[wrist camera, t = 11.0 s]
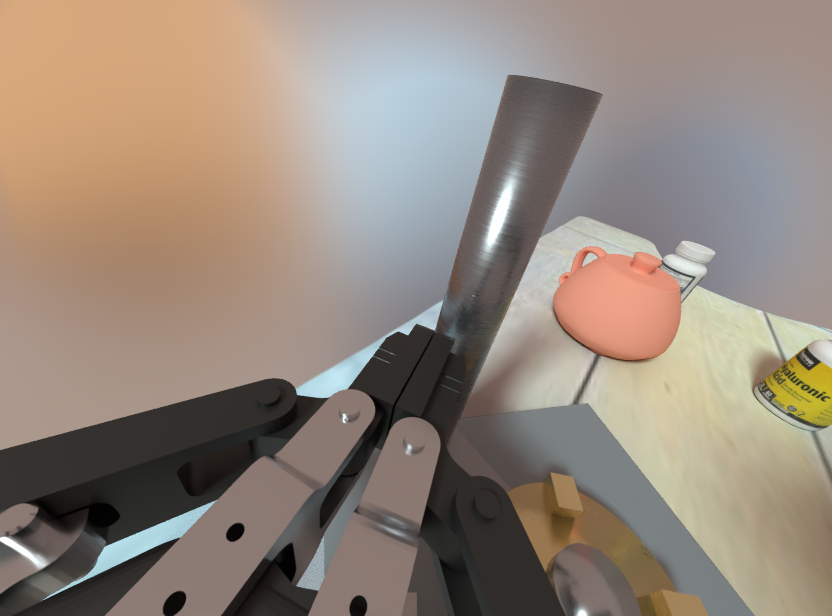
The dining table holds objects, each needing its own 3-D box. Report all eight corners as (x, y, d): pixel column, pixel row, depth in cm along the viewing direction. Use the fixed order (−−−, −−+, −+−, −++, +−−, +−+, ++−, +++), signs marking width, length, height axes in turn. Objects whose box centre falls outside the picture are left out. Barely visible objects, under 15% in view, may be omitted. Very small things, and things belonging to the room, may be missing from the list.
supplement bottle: (738, 384, 33) (824, 313, 28) (783, 391, 34) (876, 323, 28) (785, 429, 29) (898, 355, 23) (835, 437, 29) (959, 366, 24)
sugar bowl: (600, 381, 30) (669, 294, 24) (516, 297, 40) (551, 222, 34) (676, 364, 34) (750, 288, 29) (584, 293, 45) (625, 226, 39)
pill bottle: (655, 290, 50) (694, 239, 45) (684, 310, 46) (730, 257, 41) (631, 290, 48) (668, 237, 43) (659, 310, 44) (704, 255, 39)
